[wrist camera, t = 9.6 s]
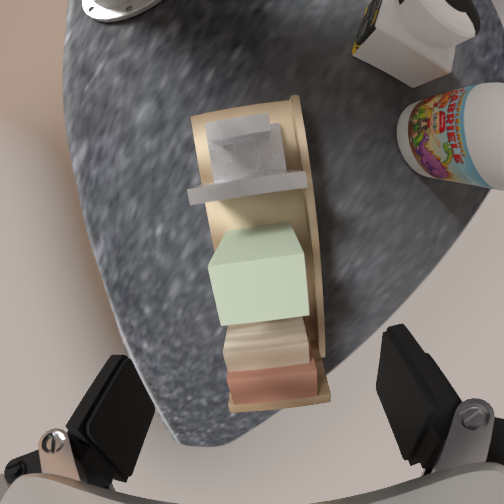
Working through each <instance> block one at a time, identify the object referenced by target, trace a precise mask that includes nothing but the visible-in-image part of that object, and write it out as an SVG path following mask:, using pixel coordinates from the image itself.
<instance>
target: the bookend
mask: <svg viewBox="0 0 504 504" xmlns="http://www.w3.org/2000/svg"><path fill="white" fill-rule="evenodd" d="M205 126H206V132H207V135H206V137H207V143H208V149H209V155H210V161H211V167H212V173H213V179H214V181H212V182H207V183H204V184H201V185H199V186H196V187H193V188H190V189H187V191H188V197H189V202H190V205H195V204H201V203H206V202H212V201H218V200H224V199H230V198H237V197H243V196H249V195H256V194H263V193H270V192H277V191H285V190H292V189H300V188H308V186H307V179H306V172H305V171H302V170H295V169H290V170H287V169H286V163H285V156H284V149H283V143H282V137H281V131H280V125H279V123H273V124H270V120H269V115H268V113H262V114H255V115H248V116H242V117H236V118H230V119H224V120H219V121H214V122H209V123H205Z"/></svg>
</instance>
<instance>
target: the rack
mask: <svg viewBox="0 0 504 504" xmlns="http://www.w3.org/2000/svg"><path fill="white" fill-rule="evenodd" d="M262 113H268V115H269V120H270V124H273V123H279V125H280V131H281V137H282V143H283V149H284V156H285V163H286V169H287V170H290V169H295V170H302V171H305V172H306V179H307V186H308V188H300V189H292V190H285V191H277V192H270V193H263V194H256V195H249V196H243V197H237V198H230V199H224V200H218V201H212V202H206V203H205V204H206V210H207V215H208V220H209V226H210V231H211V236H212V241H213V246H214V251H216V250H217V248H218V246H219V244H220V242H221V240H222V238H223V236H224V234H225V232H226V231H227V230H233V229H240V228H246V227H253V226H260V225H268V224H275V223H282V222H289V221H290V223H291V226H292V228H293V230H294V232H295V234H296V237H297V239H298V241H299V243H300V246H301V248H302V250H303V252H304V258H305V268H306V279H307V291H308V303H309V315H307V316H300V317H293V318H286V319H278V320H270V321H262V322H253V323H244V324H234V325H228V329H227V334H226V339H225V344H224V348H223V355H224V359H225V363H226V366H227V370H228V375H227V383H228V386H229V390H230V396H229V403H228V406H229V409H230V412H250V411H263V410H274V409H284V408H292V407H300V406H307V405H313V404H320V403H325V402H330V398H331V394H330V390H329V386H328V382H327V378H326V374H325V370H324V366H323V362H322V359H321V358H322V357H325V326H324V304H323V287H322V272H321V259H320V248H319V237H318V226H317V217H316V208H315V199H314V191H313V183H312V175H311V168H310V161H309V154H308V147H307V141H306V134H305V128H304V122H303V116H302V111H301V105H300V99H299V95H291V97H290V99H289V100H286V101H277V102H269V103H262V104H255V105H248V106H242V107H236V108H230V109H224V110H219V111H214V112H209V113H204V114H200V115H195V116H191V122H192V128H193V134H194V141H195V147H196V153H197V159H198V165H199V171H200V176H201V182H202V184H204V183H207V182H212V181H214V179H213V173H212V167H211V161H210V155H209V149H208V143H207V137H206V135H207V132H206V126H205V123H209V122H214V121H219V120H224V119H230V118H236V117H242V116H248V115H255V114H262Z"/></svg>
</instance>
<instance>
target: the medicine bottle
mask: <svg viewBox="0 0 504 504" xmlns="http://www.w3.org/2000/svg"><path fill="white" fill-rule="evenodd" d="M479 30H480V18H479V15H478V12H477V9H476V7H475V6H474V4H473V2H472V1H471V0H372V1H371V3H370V4H369V6H368V7H367V8H366V11H365V14H364V17H363V20H362V23H361V26H360V29H359V32H358V35H357V38H356V41H355V44H354V47H353V50H352V55H353V56H354V57H356V58H358V59H361V60H363V61H365V62H367V63H369V64H371V65H373V66H374V67H376V68H378V69H380V70H382V71H384V72H386V73H388V74H389V75H391V76H393V77H395V78H396V79H398V80H400V81H402V82H403V83H405V84H407V85H408V86H410V87H412V88H415V87H417V86H420V85H422V84H424V83H427V82H429V81H432V80H434V79H437V78H439V77H442V76H444V75H447V74H449V73H451V71H452V66H453V60H454V54H455V47H456V45H457V44H460V43H462V42H464V41H466V40H468V39H470V38H472V37H474V36H476V35H477V34H478V33H479Z"/></svg>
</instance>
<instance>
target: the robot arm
mask: <svg viewBox="0 0 504 504" xmlns="http://www.w3.org/2000/svg"><path fill="white" fill-rule="evenodd" d="M160 1H162V0H82V7H83V10H84V12H85V13H86V14H87V15H88V16H89V17H91V18H92V19H94V20H97V21H99V22H116V21H121V20H125V19H128V18H131V17H134V16H136V15H138V14H140V13H142V12H144V11H146V10H148V9H150V8H151V7H153V6H155V5H156V4H158V3H159V2H160ZM376 390H377V394H378V396H379V398H380V401H381V403H382V406H383V408H384V411H385V413H386V416H387V418H388V420H389V423H390V426H391V428H392V431H393V433H394V436H395V439H396V441H397V444H398V446H399V449H400V452H401V455H402V457H403V459H404V460H408V461H409V463H410V466H412V465H414V464H417V463H421V466H422V468H424V470H423V472H422V474H421V476H420V477H419V478H416V479H412V480H409V481H406V482H403V483H400V484H397V485H394V486H390V487H387V488H384V489H380V490H376V491H372V492H368V493H364V494H360V495H355V496H351V497H346V498H341V499H336V500H331V501H325V502H319V503H312V504H504V419H501V418H496V417H494V411H493V408H492V407H491V406H490V404H489V403H487V402H486V401H484V400H481V399H473V398H472V399H468V400H466V401H464V402H462V401H461V399H460V398H459V396H458V395H457V393H456V392H455V390H454V389H453V387H452V386H451V384H450V383H449V381H448V380H447V378H446V377H445V375H444V374H443V373H442V371H441V370H440V368H439V367H438V365H437V364H436V362H435V361H434V360H433V358H432V357H431V356H430V355H429V354H428V353H425V352H424V351H423V349H422V348H421V347H420V345H419V344H418V343H417V341H416V340H415V339H414V337H413V336H412V335H411V333H410V332H409V330H408V329H407V328H406V326H405V325H404V324H398V325H394V326H390V327H388V328H387V331H386V332H383V336H382V344H381V353H380V362H379V368H378V375H377V382H376ZM154 413H155V407H154V404H153V402H152V400H151V398H150V396H149V395H148V393H147V391H146V389H145V387H144V385H143V383H142V381H141V379H140V377H139V375H138V373H137V371H136V369H135V367H134V364H133V362H132V361H131V359H128V357H127V356H126V355H111V356H110V358H109V359H108V360H107V362H106V363H105V365H104V367H103V368H102V369H101V371H100V372H99V374H98V375H97V377H96V379H95V380H94V382H93V383H92V385H91V386H90V388H89V389H88V391H87V392H86V394H85V396H84V397H83V399H82V401H81V402H80V404H79V405H78V407H77V408H76V410H75V412H74V413H73V415H72V416H71V418H70V420H69V421H68V423H67V425H66V428H67V429H68V432H67V433H66V432H65V431H64V430H61V429H51V430H49V431H47V432H46V433H45V434H43V436H42V437H41V438H40V441H39V445H38V448H39V450H36V451H34V452H31V453H28V454H26V455H23V456H20V457H18V458H15V459H13V460H11V461H10V462H9V463H8V464H7V466H6V468H5V471H4V472H5V473H4V475H5V476H4V475H3V474H1V475H0V504H176V503H169V502H162V501H157V500H151V499H146V498H141V497H136V496H132V495H128V494H124V493H120V492H116V491H115V489H114V487H113V485H112V480H113V479H114V480H118V481H122V482H127V479H128V477H130V476H131V475H132V473H133V470H134V467H135V465H136V462H137V459H138V457H139V454H140V451H141V448H142V445H143V443H144V440H145V437H146V434H147V432H148V429H149V426H150V424H151V421H152V418H153V416H154Z"/></svg>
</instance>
